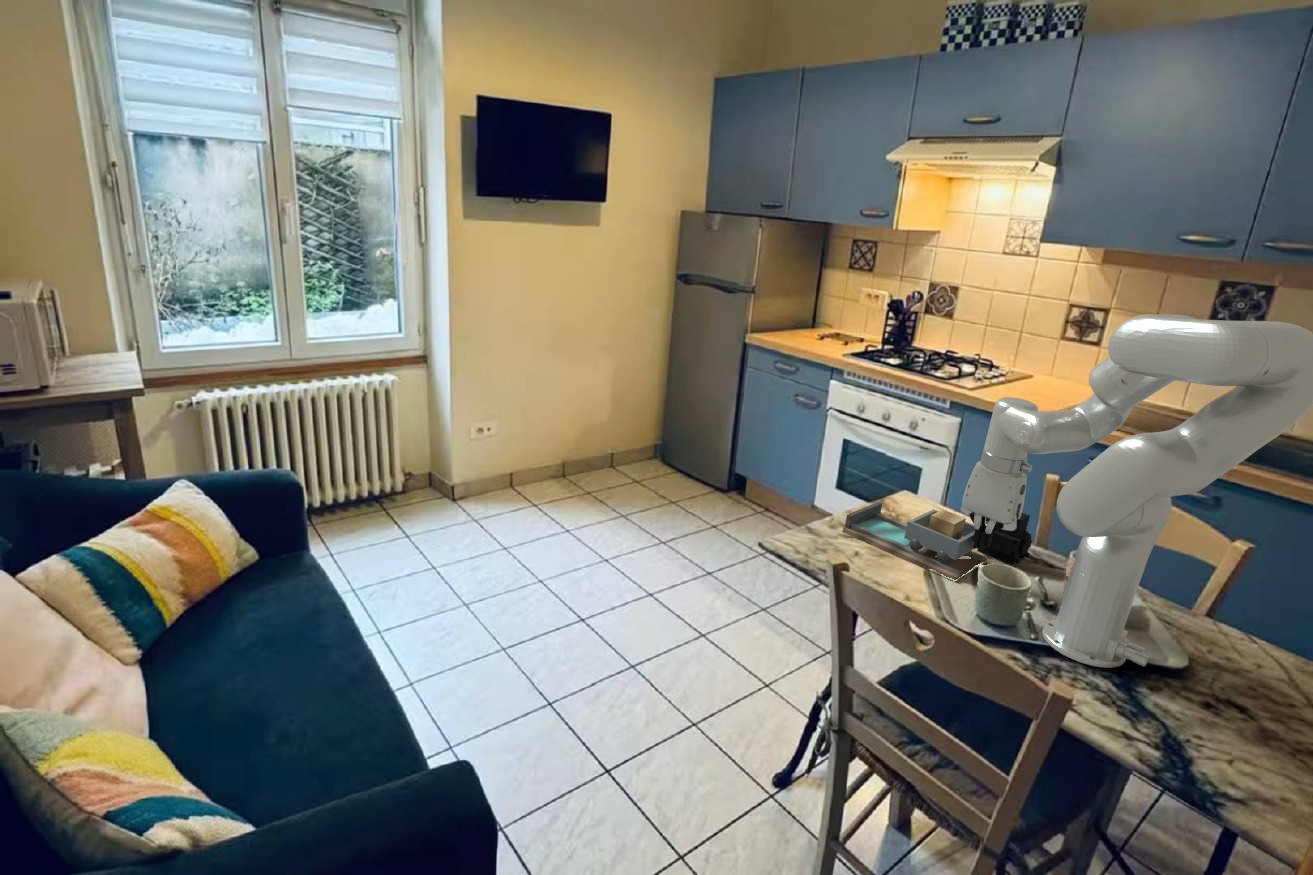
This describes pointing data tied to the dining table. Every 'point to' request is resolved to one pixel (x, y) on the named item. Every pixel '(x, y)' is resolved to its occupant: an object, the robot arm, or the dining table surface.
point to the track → (902, 542)
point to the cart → (938, 538)
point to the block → (947, 524)
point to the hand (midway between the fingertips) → (980, 547)
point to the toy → (1010, 543)
